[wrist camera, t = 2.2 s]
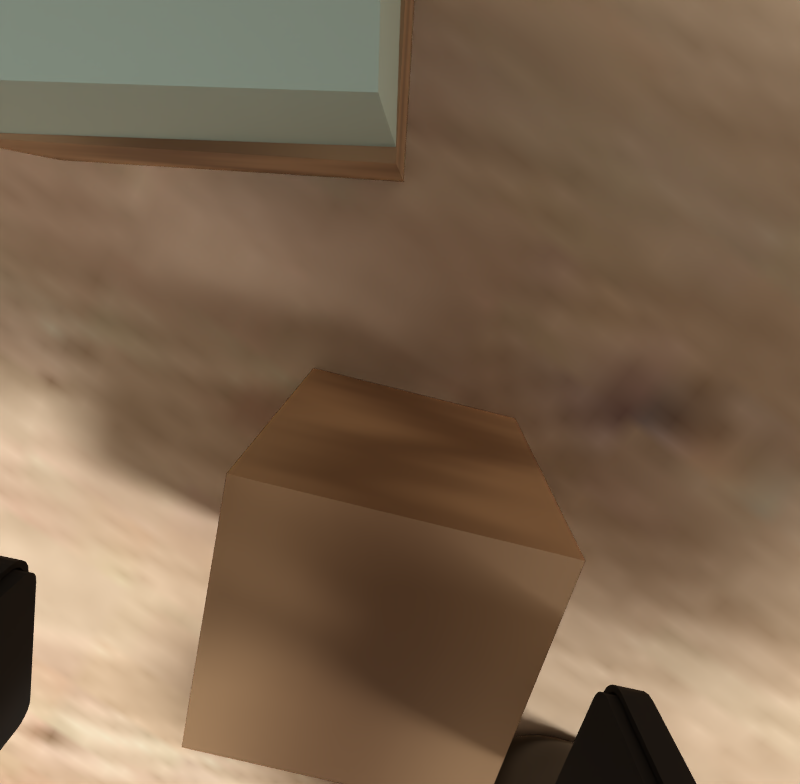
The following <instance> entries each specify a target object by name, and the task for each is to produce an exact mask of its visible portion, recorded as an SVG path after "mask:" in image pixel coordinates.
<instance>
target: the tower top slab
mask: <svg viewBox="0 0 800 784" xmlns="http://www.w3.org/2000/svg"><path fill="white" fill-rule="evenodd" d="M400 6H401V0H0V133H17V134H45V135H73V136H102V137H130V138H158V139H186V140H214V141H242V142H270V143H298V144H326V145H354V146H382V147H396V126H397V96H398V66H399V36H400Z"/></svg>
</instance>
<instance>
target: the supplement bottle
mask: <svg viewBox="0 0 800 784" xmlns="http://www.w3.org/2000/svg"><path fill="white" fill-rule="evenodd" d="M572 745H573V742H570V741H567V740H564V739H560V738H556V737H550V736H542V735H524V736H515V737H513V739H512V741H511V743H510V746H509V748H508V751H507V753H506V756H505V758H504V761H503V763H502V765H501V768H500V770H499V773H498V775H497V778H496V780H495V783H494V784H555V783H556V781H557V778H558V776H559V774H560V772H561V769H562V767H563V765H564V763H565V761H566V758H567V756H568V754H569V752H570V750H571V747H572Z"/></svg>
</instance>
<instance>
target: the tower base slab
mask: <svg viewBox="0 0 800 784" xmlns="http://www.w3.org/2000/svg"><path fill="white" fill-rule="evenodd" d="M413 17H414V0H401V6H400V36H399V66H398V96H397V126H396V147H382V146H354V145H326V144H298V143H270V142H242V141H214V140H186V139H158V138H130V137H102V136H73V135H45V134H17V133H0V148H3V149H8V150H13V151H18V152H23V153H28V154H33V155H38V156H43V157H48V158H53V159H58V160H68V161H84V162H100V163H116V164H132V165H148V166H164V167H180V168H196V169H212V170H227V171H243V172H259V173H275V174H291V175H307V176H323V177H339V178H355V179H371V180H387V181H403V182H404V167H405V150H406V134H407V117H408V100H409V84H410V67H411V50H412V34H413Z"/></svg>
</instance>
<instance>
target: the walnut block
mask: <svg viewBox="0 0 800 784" xmlns="http://www.w3.org/2000/svg"><path fill="white" fill-rule="evenodd" d="M584 563H585V559H584V557H583V555H582V553H581V551H580V549H579V547H578V545H577V543H576V541H575V539H574V537H573V535H572V533H571V531H570V529H569V527H568V525H567V523H566V521H565V519H564V517H563V515H562V513H561V510H560V508H559V506H558V504H557V502H556V500H555V498H554V496H553V494H552V492H551V490H550V488H549V486H548V484H547V482H546V480H545V478H544V476H543V474H542V472H541V470H540V468H539V466H538V464H537V462H536V460H535V458H534V456H533V454H532V451H531V449H530V447H529V445H528V443H527V441H526V439H525V437H524V435H523V433H522V431H521V429H520V427H519V425H518V423H517V421H516V419H515V418H511V417H507V416H503V415H499V414H495V413H491V412H487V411H483V410H479V409H475V408H471V407H467V406H463V405H459V404H455V403H451V402H447V401H443V400H439V399H435V398H431V397H427V396H423V395H419V394H415V393H411V392H407V391H403V390H399V389H395V388H391V387H387V386H383V385H379V384H375V383H371V382H367V381H363V380H359V379H355V378H351V377H347V376H343V375H339V374H335V373H331V372H327V371H323V370H319V369H315V368H313V369H312V371H311V372H310V373H309V374H308V376H307V377H306V378H305V379H304V380H303V382H302V383H301V384H300V385H299V386H298V388H297V389H296V390H295V391H294V392H293V394H292V395H291V396H290V397H289V399H288V400H287V401H286V402H285V403H284V405H283V406H282V407H281V408H280V409H279V411H278V412H277V413H276V414H275V415H274V417H273V418H272V419H271V420H270V422H269V423H268V424H267V425H266V426H265V428H264V429H263V430H262V431H261V432H260V434H259V435H258V436H257V437H256V438H255V440H254V441H253V442H252V443H251V445H250V446H249V447H248V448H247V449H246V451H245V452H244V453H243V454H242V455H241V457H240V458H239V459H238V460H237V461H236V463H235V464H234V465H233V466H232V468H231V469H230V470H229V471H228V472H227V474H226V480H225V486H224V492H223V498H222V504H221V510H220V516H219V522H218V528H217V535H216V541H215V547H214V553H213V559H212V565H211V571H210V577H209V583H208V590H207V596H206V602H205V608H204V614H203V620H202V626H201V632H200V638H199V645H198V651H197V657H196V663H195V669H194V675H193V681H192V687H191V693H190V700H189V706H188V712H187V718H186V724H185V730H184V736H183V742H182V747H184V748H188V749H192V750H197V751H201V752H205V753H210V754H214V755H219V756H223V757H227V758H232V759H236V760H241V761H245V762H249V763H254V764H258V765H263V766H267V767H271V768H276V769H280V770H284V771H289V772H293V773H298V774H302V775H306V776H311V777H315V778H320V779H324V780H328V781H333V782H337V783H342V784H494V783H495V780H496V778H497V775H498V773H499V770H500V768H501V765H502V763H503V761H504V758H505V756H506V753H507V751H508V748H509V746H510V743H511V741H512V739H513V736H514V734H515V731H516V729H517V726H518V724H519V721H520V719H521V717H522V714H523V712H524V709H525V707H526V704H527V702H528V699H529V697H530V695H531V692H532V690H533V687H534V685H535V682H536V680H537V677H538V675H539V673H540V670H541V668H542V665H543V663H544V660H545V658H546V655H547V653H548V651H549V648H550V646H551V643H552V641H553V638H554V636H555V633H556V631H557V629H558V626H559V624H560V621H561V619H562V616H563V614H564V611H565V609H566V607H567V604H568V602H569V599H570V597H571V594H572V592H573V589H574V587H575V585H576V582H577V580H578V577H579V575H580V572H581V570H582V567H583V565H584Z"/></svg>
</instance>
